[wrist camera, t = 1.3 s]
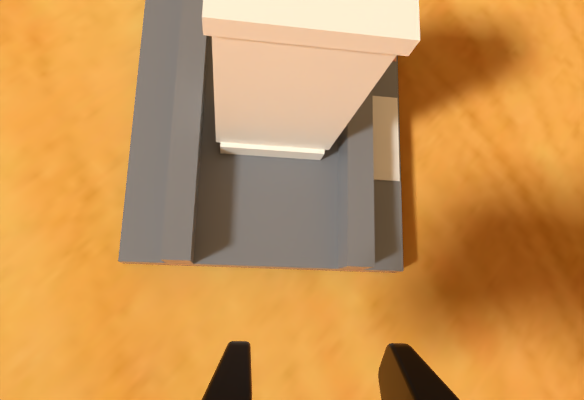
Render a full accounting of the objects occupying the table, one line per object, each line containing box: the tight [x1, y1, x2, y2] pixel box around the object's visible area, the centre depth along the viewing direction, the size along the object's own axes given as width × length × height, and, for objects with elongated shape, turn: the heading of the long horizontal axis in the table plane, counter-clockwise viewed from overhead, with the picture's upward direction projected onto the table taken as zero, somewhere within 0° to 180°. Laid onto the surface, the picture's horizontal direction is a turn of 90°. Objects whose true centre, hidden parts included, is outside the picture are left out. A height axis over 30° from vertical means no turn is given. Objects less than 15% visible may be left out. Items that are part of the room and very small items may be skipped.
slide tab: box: [202, 0, 420, 160], centre depth 17 cm, size 3×6×11 cm, turn 88°
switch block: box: [118, 0, 403, 273], centre depth 22 cm, size 16×13×3 cm
